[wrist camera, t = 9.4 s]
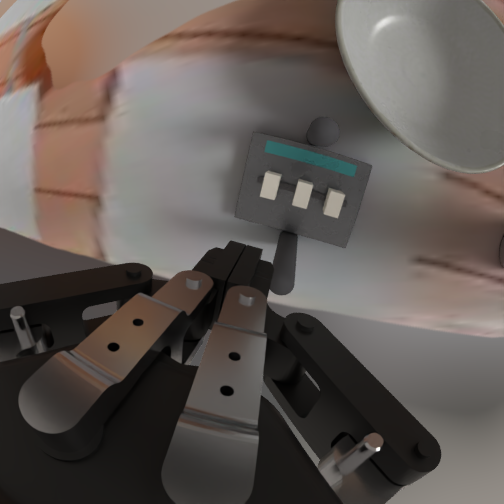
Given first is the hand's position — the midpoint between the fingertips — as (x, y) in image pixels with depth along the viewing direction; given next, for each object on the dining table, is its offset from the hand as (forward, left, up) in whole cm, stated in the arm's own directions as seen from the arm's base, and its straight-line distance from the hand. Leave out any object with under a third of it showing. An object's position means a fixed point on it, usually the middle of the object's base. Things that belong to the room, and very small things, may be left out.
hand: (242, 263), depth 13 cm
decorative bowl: (-15, -22, -27) cm, 38 cm away
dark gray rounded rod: (-3, -7, -27) cm, 28 cm away
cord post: (-3, +8, -27) cm, 28 cm away
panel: (-3, 0, -27) cm, 27 cm away
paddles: (-3, 0, -24) cm, 24 cm away
